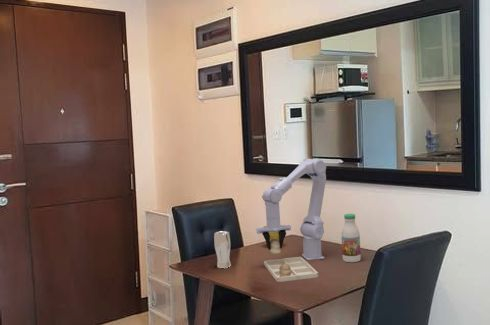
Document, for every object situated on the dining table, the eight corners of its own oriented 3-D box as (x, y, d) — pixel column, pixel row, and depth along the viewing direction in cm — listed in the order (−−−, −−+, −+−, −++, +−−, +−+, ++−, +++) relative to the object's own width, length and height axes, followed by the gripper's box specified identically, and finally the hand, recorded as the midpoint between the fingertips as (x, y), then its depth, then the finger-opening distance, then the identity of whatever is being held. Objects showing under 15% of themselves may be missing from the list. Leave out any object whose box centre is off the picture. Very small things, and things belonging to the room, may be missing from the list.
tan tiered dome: (278, 276, 206) (277, 262, 205) (289, 275, 206) (288, 261, 206) (281, 279, 201) (280, 265, 201) (292, 278, 202) (291, 264, 201)
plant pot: (261, 245, 258) (259, 226, 257) (280, 242, 260) (279, 223, 259) (266, 250, 248) (265, 230, 247) (287, 247, 250) (286, 227, 249)
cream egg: (269, 251, 220) (268, 238, 220) (279, 250, 221) (278, 237, 221) (271, 253, 216) (270, 240, 216) (281, 252, 217) (280, 239, 216)
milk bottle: (340, 258, 226) (338, 213, 225) (357, 257, 227) (355, 212, 225) (345, 263, 219) (343, 217, 217) (363, 261, 219) (361, 215, 218)
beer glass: (234, 264, 228) (232, 231, 227) (228, 269, 221) (226, 234, 220) (219, 263, 230) (217, 230, 229) (213, 268, 224) (211, 234, 222)
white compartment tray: (264, 265, 223) (263, 260, 223) (301, 261, 226) (301, 256, 226) (277, 283, 199) (277, 278, 199) (318, 278, 202) (318, 273, 201)
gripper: (258, 220, 212) (260, 252, 214) (292, 217, 215) (294, 249, 216) (254, 217, 219) (256, 248, 221) (287, 214, 222) (289, 245, 223)
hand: (274, 248), depth 219 cm, fingers closed on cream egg, 4 cm apart
